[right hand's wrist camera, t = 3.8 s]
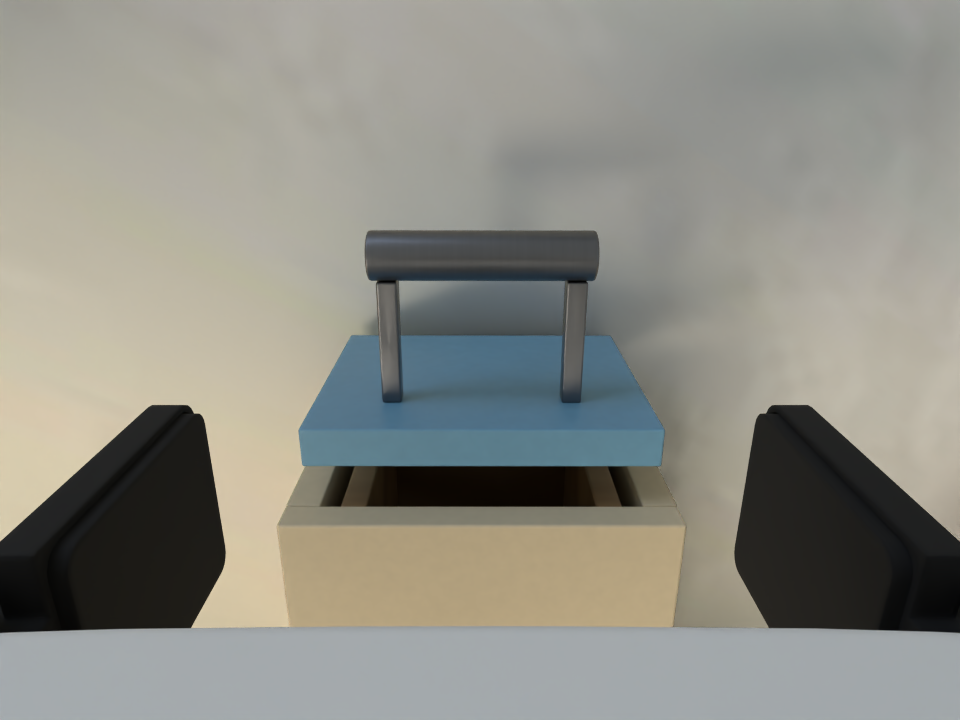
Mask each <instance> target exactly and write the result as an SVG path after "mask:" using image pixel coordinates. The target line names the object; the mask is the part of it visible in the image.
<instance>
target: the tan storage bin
mask: <svg viewBox="0 0 960 720" xmlns="http://www.w3.org/2000/svg"><path fill="white" fill-rule="evenodd" d="M354 467H355V466H305V468H304V470H303V472H302V474H301V476H300V478H299V480H298V483H297V485H296V487H295V489H294V491H293V493H292V495H291V497H290V499H289V501H288V503H287V506H286V508H285V510H284V512H283V515H282V517H281V519H280V521H279V523H278V525H277V532H278V540H279V548H280V556H281V563H282V571H283V579H284V587H285V595H286V603H287V611H288V619H289V627H346V626H584V627H673V624H674V617H675V609H676V602H677V594H678V587H679V579H680V572H681V564H682V557H683V549H684V541H685V534H686V524H685V522H684V520H683V518H682V516H681V514H680V512H679V510H678V508H677V505H676V503H675V501H674V499H673V497H672V495H671V493H670V491H669V489H668V487H667V485H666V483H665V481H664V479H663V477H662V475H661V473H660V471H659V469H658V467H657V466H608V469H609V472H610V475H611V478H612V480H613V483H614V486H615V489H616V492H617V494H618V497H619V500H620V503H621V506H622V507H341V505H342V502H343V499H344V496H345V493H346V490H347V487H348V485H349V482H350V479H351V476H352V473H353V470H354Z"/></svg>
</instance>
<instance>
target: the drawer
mask: <svg viewBox="0 0 960 720" xmlns="http://www.w3.org/2000/svg"><path fill="white" fill-rule="evenodd" d="M365 266H366V273H367V276H368V279H369V280H371V281H377V283H376V295H377V313H378V331H379V335H352V336H351V337H350V339H349V341H348V343H347V344H346V346H345V348H344V350H343V351H342V353H341V355H340V357H339V359H338V360H337V362H336V364H335V366H334V368H333V369H332V371H331V373H330V375H329V376H328V378H327V380H326V382H325V384H324V385H323V387H322V389H321V391H320V393H319V394H318V396H317V398H316V400H315V402H314V403H313V405H312V407H311V409H310V410H309V412H308V414H307V416H306V418H305V419H304V421H303V423H302V425H301V427H300V428H299V440H300V449H301V459H302V465H303V466H355V467H354V470H353V473H352V476H351V479H350V482H349V485H348V487H347V490H346V493H345V496H344V499H343V502H342V505H341V507H622V506H621V503H620V500H619V497H618V494H617V492H616V489H615V486H614V483H613V480H612V478H611V475H610V472H609V469H608V466H661V462H662V453H663V444H664V435H665V430H664V428H663V426H662V424H661V423H660V421H659V419H658V417H657V416H656V414H655V412H654V410H653V409H652V407H651V405H650V404H649V402H648V400H647V398H646V397H645V395H644V393H643V391H642V390H641V388H640V386H639V384H638V383H637V381H636V379H635V378H634V376H633V374H632V372H631V371H630V369H629V367H628V365H627V364H626V362H625V360H624V358H623V357H622V355H621V353H620V352H619V350H618V348H617V346H616V345H615V343H614V341H613V339H612V338H611V336H585V325H586V309H587V292H588V283H587V281H593V280H595V279H596V276H597V273H598V266H599V239H598V235H597V232H596V231H411V230H370V231H368V232H367V235H366V240H365ZM399 281H565V292H564V313H563V333H562V336H438V335H401V326H400V303H399Z"/></svg>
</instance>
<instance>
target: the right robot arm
mask: <svg viewBox="0 0 960 720" xmlns="http://www.w3.org/2000/svg"><path fill="white" fill-rule="evenodd" d="M225 554H226V551H225V543H224V537H223V531H222V525H221V519H220V513H219V507H218V501H217V495H216V488H215V482H214V476H213V470H212V464H211V458H210V452H209V446H208V440H207V434H206V428H205V423H204V419H203V417H202V416H201V415H200V414H194V413H193V411H192V409H191V408H190V407H189V406H188V405H152V406H150V407H148V408H147V409H146V410H145V411H144V412H143V413H142V414H140V415H139V416H138V417H137V418H136V419H135V420H134V421H133V422H132V423H131V424H129V425H128V426H127V427H126V428H125V429H124V430H123V431H122V432H121V433H119V434H118V435H117V436H116V437H115V438H114V439H113V440H112V441H111V442H110V443H108V444H107V445H106V446H105V447H104V448H103V449H102V450H101V451H100V452H99V453H97V454H96V455H95V456H94V457H93V458H92V459H91V460H90V461H89V462H88V463H86V464H85V465H84V466H83V467H82V468H81V469H80V470H79V471H78V472H77V473H75V474H74V475H73V476H72V477H71V478H70V479H69V480H68V481H67V482H66V483H64V484H63V485H62V486H61V487H60V488H59V489H58V490H57V491H56V492H54V493H53V494H52V495H51V496H50V497H49V498H48V499H47V500H46V501H45V502H43V503H42V504H41V505H40V506H39V507H38V508H37V509H36V510H35V511H34V512H32V513H31V514H30V515H29V516H28V517H27V518H26V519H25V520H24V521H23V522H21V523H20V524H19V525H18V526H17V527H16V528H15V529H14V530H13V531H12V532H10V533H9V534H8V535H7V536H6V537H5V538H4V539H3V540H2V541H0V720H960V541H958V540H957V539H956V538H955V537H954V536H953V535H952V534H951V533H950V532H949V531H947V530H946V529H945V528H944V527H943V526H942V525H941V524H940V523H939V522H937V521H936V520H935V519H934V518H933V517H932V516H931V515H930V514H929V513H928V512H926V511H925V510H924V509H923V508H922V507H921V506H920V505H919V504H918V503H917V502H915V501H914V500H913V499H912V498H911V497H910V496H909V495H908V494H907V493H906V492H904V491H903V490H902V489H901V488H900V487H899V486H898V485H897V484H896V483H895V482H893V481H892V480H891V479H890V478H889V477H888V476H887V475H886V474H885V473H884V472H882V471H881V470H880V469H879V468H878V467H877V466H876V465H875V464H874V463H872V462H871V461H870V460H869V459H868V458H867V457H866V456H865V455H864V454H863V453H861V452H860V451H859V450H858V449H857V448H856V447H855V446H854V445H853V444H852V443H850V442H849V441H848V440H847V439H846V438H845V437H844V436H843V435H842V434H841V433H839V432H838V431H837V430H836V429H835V428H834V427H833V426H832V425H831V424H830V423H828V422H827V421H826V420H825V419H824V418H823V417H822V416H821V415H820V414H819V413H817V412H816V411H815V410H814V409H813V408H812V407H810V406H808V405H772V406H771V407H770V408H769V409H768V411H767V413H766V414H760V415H759V416H758V417H757V419H756V423H755V428H754V434H753V440H752V446H751V452H750V458H749V464H748V470H747V476H746V483H745V489H744V495H743V501H742V507H741V513H740V519H739V525H738V531H737V537H736V543H735V552H734V554H735V563H736V567H737V570H738V572H739V574H740V576H741V578H742V580H743V581H744V583H745V585H746V587H747V589H748V591H749V592H750V594H751V596H752V598H753V600H754V601H755V603H756V605H757V607H758V609H759V610H760V612H761V614H762V616H763V618H764V619H765V621H766V623H767V625H768V627H769V628H697V627H584V626H346V627H257V628H191V627H192V625H193V623H194V621H195V619H196V618H197V616H198V614H199V612H200V610H201V609H202V607H203V605H204V603H205V601H206V600H207V598H208V596H209V594H210V592H211V591H212V589H213V587H214V585H215V583H216V582H217V580H218V578H219V576H220V574H221V572H222V570H223V567H224V564H225Z"/></svg>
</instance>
